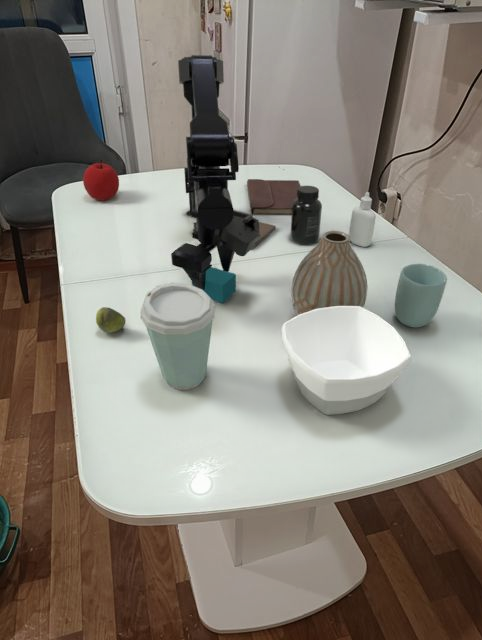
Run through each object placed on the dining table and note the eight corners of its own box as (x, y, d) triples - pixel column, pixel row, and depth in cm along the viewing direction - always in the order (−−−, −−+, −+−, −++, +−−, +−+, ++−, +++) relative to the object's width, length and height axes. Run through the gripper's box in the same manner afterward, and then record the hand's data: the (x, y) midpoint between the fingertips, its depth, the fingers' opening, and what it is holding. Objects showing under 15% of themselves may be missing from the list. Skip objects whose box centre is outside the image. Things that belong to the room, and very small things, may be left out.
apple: (89, 190, 139) (82, 153, 133) (123, 190, 140) (117, 153, 134) (83, 204, 132) (76, 165, 126) (119, 204, 133) (113, 165, 127)
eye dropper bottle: (363, 236, 123) (371, 187, 115) (372, 247, 118) (381, 197, 111) (346, 237, 122) (353, 188, 114) (354, 248, 118) (362, 198, 110)
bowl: (313, 442, 71) (320, 393, 65) (262, 365, 84) (264, 318, 78) (417, 408, 77) (432, 361, 71) (355, 341, 90) (363, 296, 84)
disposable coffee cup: (226, 362, 84) (224, 284, 75) (205, 407, 76) (201, 326, 67) (165, 352, 86) (156, 274, 76) (139, 394, 78) (125, 313, 68)
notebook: (298, 185, 147) (299, 179, 146) (309, 214, 132) (309, 207, 130) (246, 185, 146) (247, 178, 145) (251, 214, 131) (251, 206, 129)
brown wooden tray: (193, 233, 121) (192, 223, 119) (219, 215, 130) (218, 205, 128) (252, 249, 116) (252, 239, 114) (275, 229, 124) (276, 219, 123)
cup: (409, 337, 91) (422, 289, 85) (382, 315, 97) (392, 268, 90) (442, 326, 94) (456, 279, 88) (414, 305, 100) (426, 259, 93)
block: (223, 303, 98) (222, 285, 95) (192, 293, 100) (191, 276, 98) (236, 291, 101) (236, 274, 99) (206, 282, 104) (205, 265, 101)
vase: (305, 297, 101) (313, 213, 90) (369, 315, 96) (386, 229, 85) (277, 332, 91) (282, 242, 80) (346, 354, 87) (362, 262, 76)
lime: (96, 326, 91) (92, 303, 88) (124, 321, 92) (120, 298, 89) (100, 341, 88) (95, 317, 84) (128, 335, 89) (125, 311, 86)
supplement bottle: (318, 233, 123) (324, 184, 116) (318, 246, 118) (324, 196, 110) (290, 231, 124) (294, 182, 116) (288, 244, 118) (292, 193, 111)
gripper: (224, 235, 80) (225, 317, 90) (276, 196, 93) (272, 271, 103) (166, 220, 84) (173, 299, 94) (223, 184, 97) (224, 257, 107)
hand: (214, 281), depth 99 cm, fingers open, 9 cm apart
